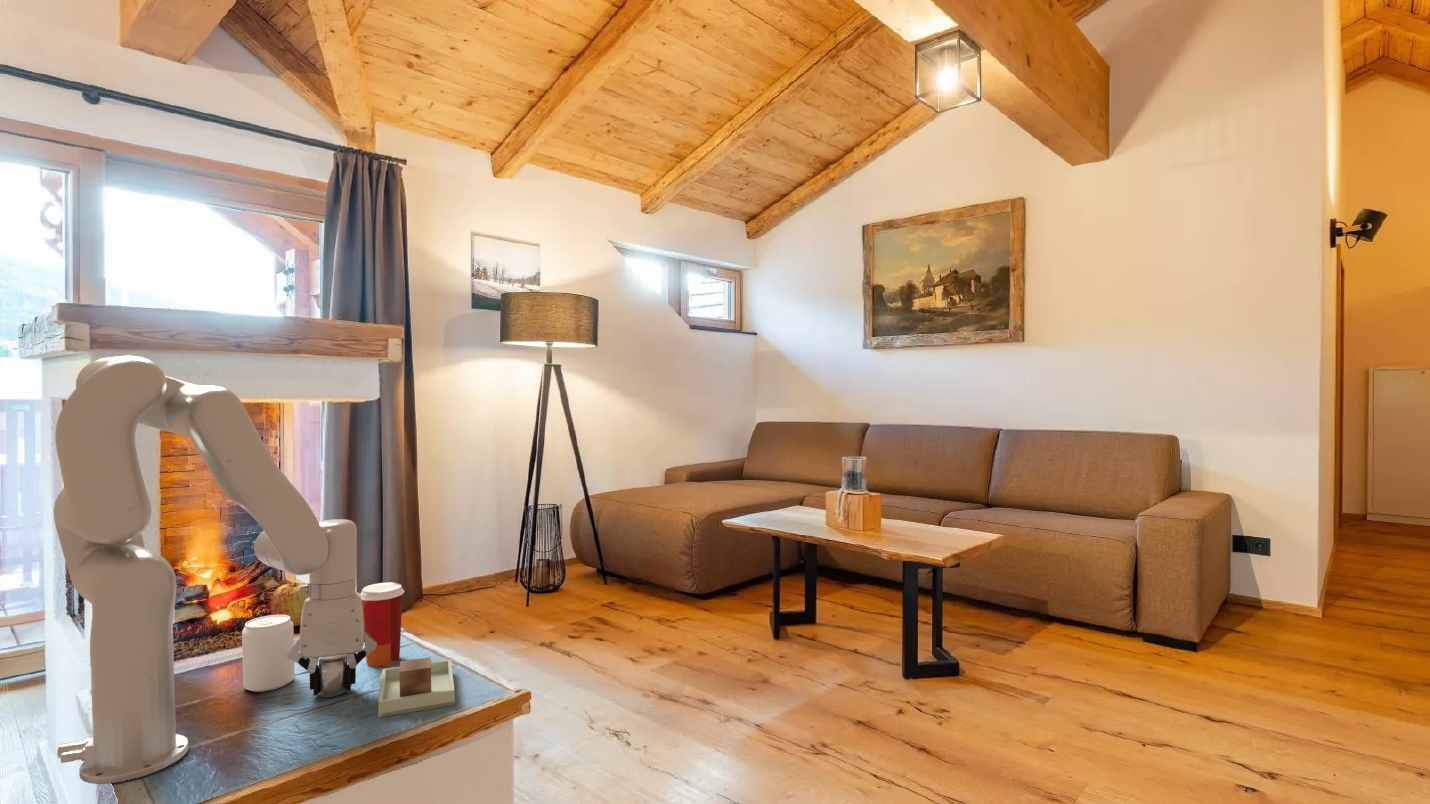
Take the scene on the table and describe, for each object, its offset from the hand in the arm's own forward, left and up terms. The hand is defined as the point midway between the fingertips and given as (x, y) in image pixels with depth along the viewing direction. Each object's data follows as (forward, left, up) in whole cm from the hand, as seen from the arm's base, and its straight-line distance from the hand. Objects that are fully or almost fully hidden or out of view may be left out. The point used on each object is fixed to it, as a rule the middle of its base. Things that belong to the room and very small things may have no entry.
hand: (333, 689), depth 129 cm
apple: (-12, +45, -1) cm, 47 cm away
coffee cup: (+8, +13, -1) cm, 15 cm away
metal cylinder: (0, 0, 0) cm, 0 cm away
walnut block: (+14, -9, 0) cm, 17 cm away
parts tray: (+14, -6, -1) cm, 15 cm away
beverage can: (-11, +9, -1) cm, 15 cm away
